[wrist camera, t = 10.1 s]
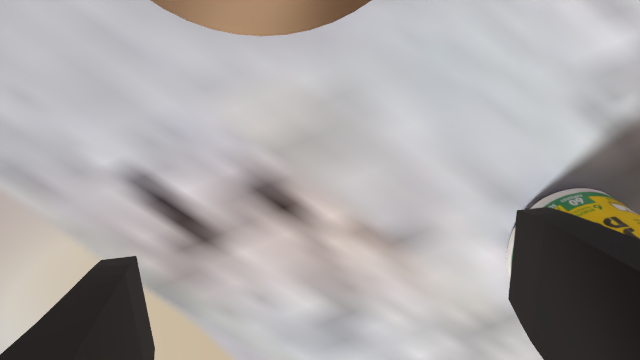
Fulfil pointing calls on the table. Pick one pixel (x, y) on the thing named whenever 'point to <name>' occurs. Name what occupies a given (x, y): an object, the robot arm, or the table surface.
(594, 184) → the table surface
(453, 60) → the table surface
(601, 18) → the table surface
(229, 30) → the walnut bowl
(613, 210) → the supplement bottle
